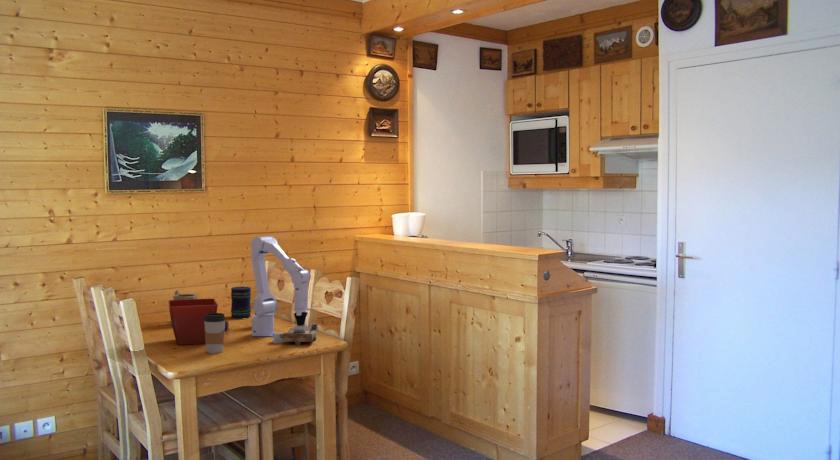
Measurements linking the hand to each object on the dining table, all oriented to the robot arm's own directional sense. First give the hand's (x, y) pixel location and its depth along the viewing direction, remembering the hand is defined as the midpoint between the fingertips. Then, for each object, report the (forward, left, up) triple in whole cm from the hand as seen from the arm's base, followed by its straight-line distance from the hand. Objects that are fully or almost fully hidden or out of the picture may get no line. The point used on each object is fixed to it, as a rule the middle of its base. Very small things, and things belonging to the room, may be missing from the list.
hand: (300, 329), depth 304 cm
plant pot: (-45, -4, -5) cm, 45 cm away
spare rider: (-9, -4, -5) cm, 11 cm away
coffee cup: (-31, -23, -5) cm, 39 cm away
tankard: (-61, +37, -5) cm, 71 cm away
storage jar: (-37, +54, -5) cm, 65 cm away
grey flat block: (0, +1, -5) cm, 5 cm away
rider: (0, -3, -2) cm, 4 cm away
